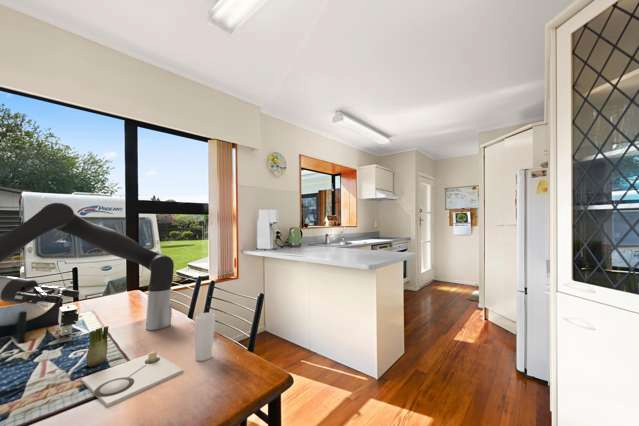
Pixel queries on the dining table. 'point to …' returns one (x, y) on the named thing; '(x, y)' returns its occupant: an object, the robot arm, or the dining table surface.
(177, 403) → the dining table surface
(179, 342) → the dining table surface
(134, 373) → the gauge board
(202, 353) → the drinking glass
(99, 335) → the fennel bulb
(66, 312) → the pneumatic valve
